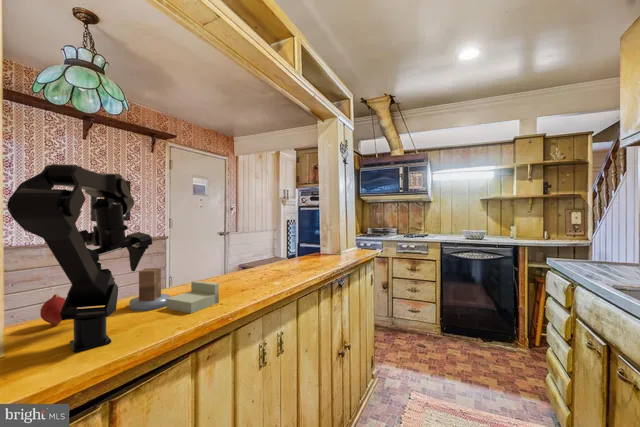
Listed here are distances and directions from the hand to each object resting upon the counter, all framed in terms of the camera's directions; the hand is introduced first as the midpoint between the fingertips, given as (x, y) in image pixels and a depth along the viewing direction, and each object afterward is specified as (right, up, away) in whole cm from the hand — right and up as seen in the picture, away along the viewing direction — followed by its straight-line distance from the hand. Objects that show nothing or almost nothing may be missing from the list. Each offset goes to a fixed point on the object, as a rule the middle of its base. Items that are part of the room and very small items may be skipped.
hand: (116, 277), depth 80 cm
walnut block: (+2, -9, +12) cm, 15 cm away
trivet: (+2, -11, +12) cm, 17 cm away
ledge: (+16, -11, +12) cm, 23 cm away
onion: (-13, -11, -4) cm, 18 cm away
